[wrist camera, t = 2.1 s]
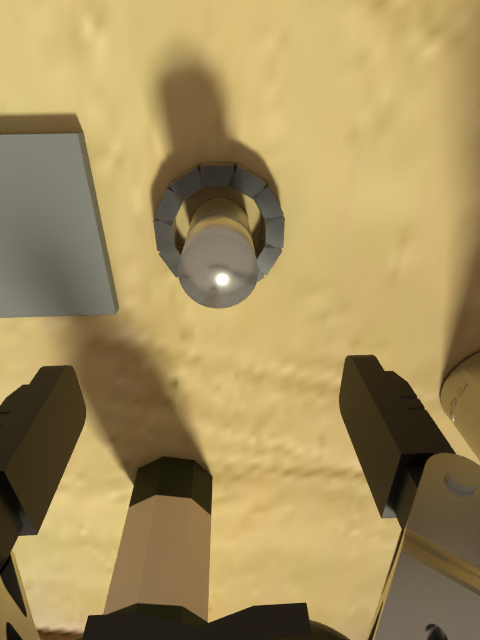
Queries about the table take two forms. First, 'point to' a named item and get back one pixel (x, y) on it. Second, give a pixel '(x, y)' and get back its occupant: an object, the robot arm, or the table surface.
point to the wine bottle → (165, 544)
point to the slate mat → (51, 230)
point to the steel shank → (218, 255)
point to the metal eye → (219, 177)
